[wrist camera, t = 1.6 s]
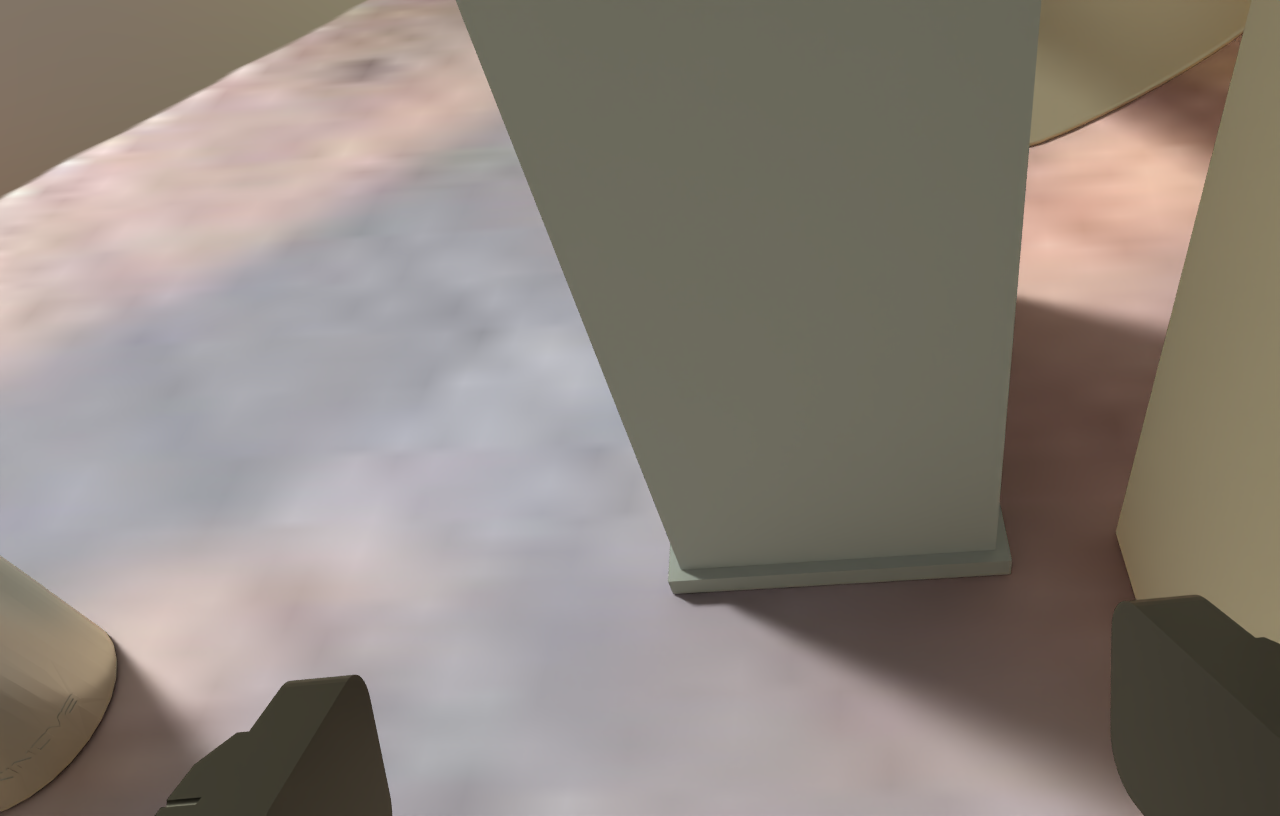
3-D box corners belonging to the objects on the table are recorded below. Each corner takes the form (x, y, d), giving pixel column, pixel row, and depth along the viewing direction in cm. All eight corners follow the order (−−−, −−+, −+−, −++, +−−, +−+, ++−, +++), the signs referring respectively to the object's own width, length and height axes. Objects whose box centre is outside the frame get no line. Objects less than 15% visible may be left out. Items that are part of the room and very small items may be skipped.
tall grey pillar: (673, 593, 38) (253, -400, 15) (687, 303, 49) (457, -536, 26) (1010, 574, 36) (1149, -694, 12) (946, 270, 46) (954, -708, 23)
